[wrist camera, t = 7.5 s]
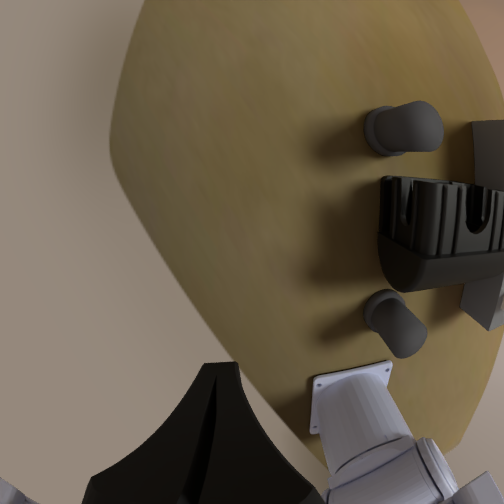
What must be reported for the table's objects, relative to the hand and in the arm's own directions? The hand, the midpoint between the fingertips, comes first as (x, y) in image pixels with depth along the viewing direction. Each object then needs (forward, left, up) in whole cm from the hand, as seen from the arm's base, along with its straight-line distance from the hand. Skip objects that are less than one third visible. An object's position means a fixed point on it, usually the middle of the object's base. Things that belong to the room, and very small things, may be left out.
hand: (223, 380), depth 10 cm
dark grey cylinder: (-4, -12, -10) cm, 16 cm away
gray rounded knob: (+10, -12, -10) cm, 18 cm away
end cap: (+3, -16, -10) cm, 19 cm away
